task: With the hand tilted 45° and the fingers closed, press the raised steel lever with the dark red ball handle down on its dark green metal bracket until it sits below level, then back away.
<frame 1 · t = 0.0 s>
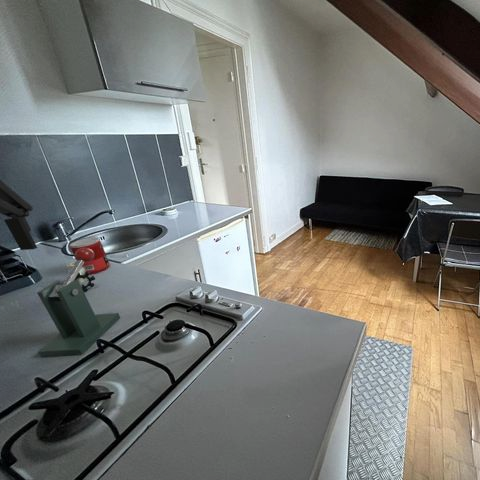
valve: (83, 285, 84), on the worktop
canned food: (97, 269, 94), on the worktop
lever: (74, 272, 60), point 15 cm above the worktop, hinge at 30.0°
bracket: (84, 335, 62), on the worktop
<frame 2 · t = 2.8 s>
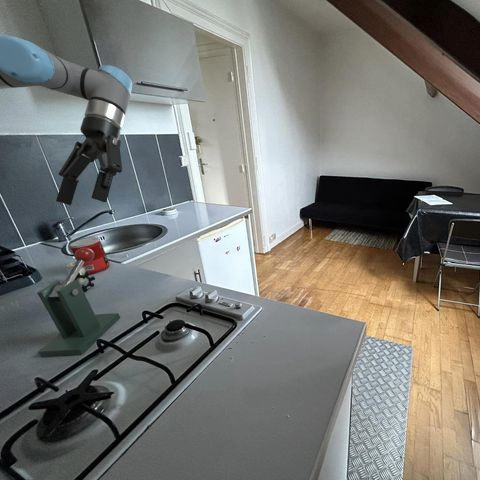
hand: (80, 201, 63), 29 cm above the worktop, tool tilted 35°, fingers open, 13 cm apart
nothing on the worktop moved.
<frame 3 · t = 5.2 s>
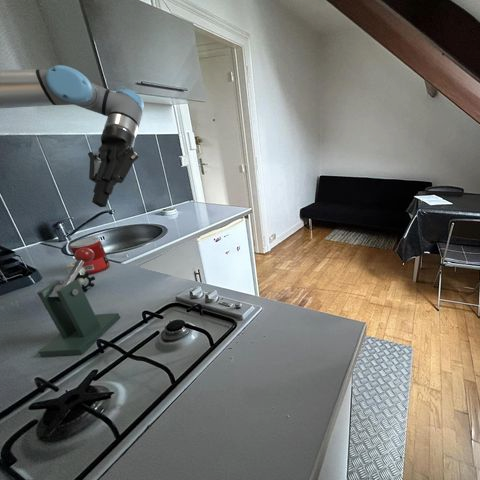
hand: (98, 204, 68), 27 cm above the worktop, tool tilted 45°, fingers closed
nothing on the worktop moved.
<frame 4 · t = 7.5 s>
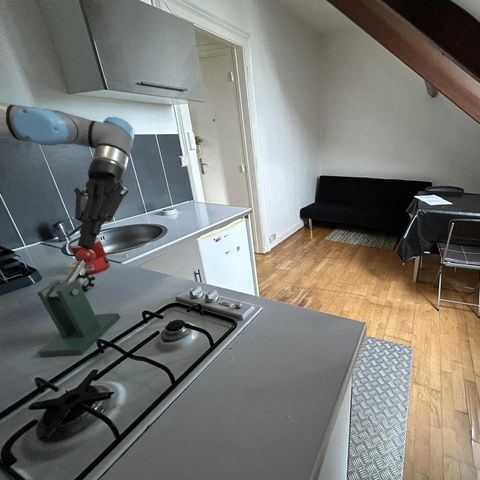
hand: (85, 247, 63), 19 cm above the worktop, tool tilted 45°, fingers closed
lever: (74, 272, 60), point 14 cm above the worktop, hinge at 27.7°, touching gripper
everything else where it was.
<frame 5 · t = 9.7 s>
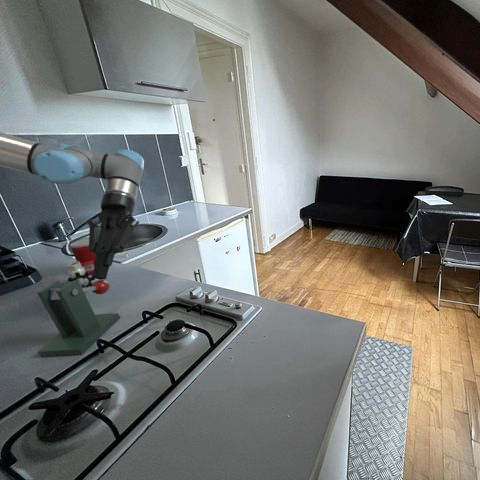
hand: (98, 278, 67), 10 cm above the worktop, tool tilted 45°, fingers closed
lever: (83, 289, 62), point 10 cm above the worktop, hinge at -25.8°, touching gripper
everything else where it was.
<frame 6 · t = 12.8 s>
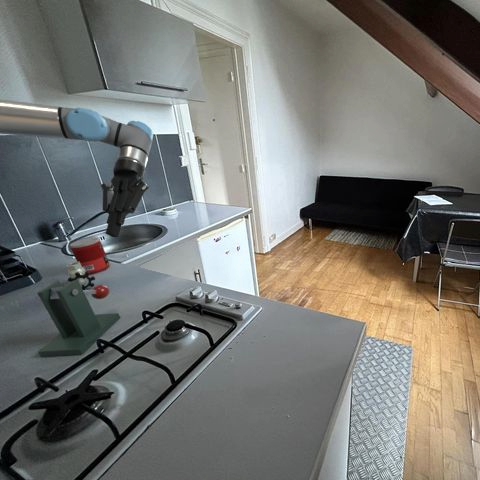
hand: (111, 235, 72), 18 cm above the worktop, tool tilted 45°, fingers closed
lever: (83, 292, 62), point 9 cm above the worktop, hinge at -32.7°
everything else where it was.
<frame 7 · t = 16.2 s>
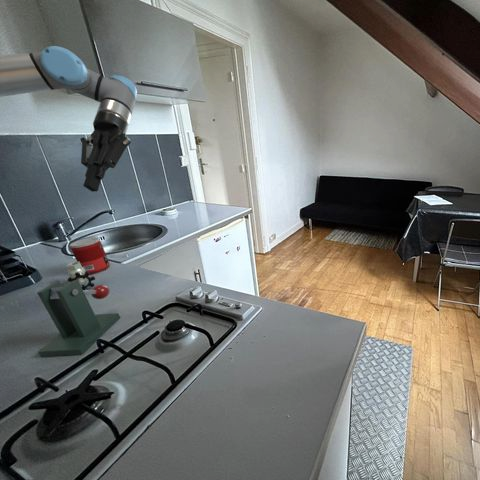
hand: (90, 188, 68), 31 cm above the worktop, tool tilted 45°, fingers closed
nothing on the worktop moved.
at the end: lever at -33° (first picture: +30°) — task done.
